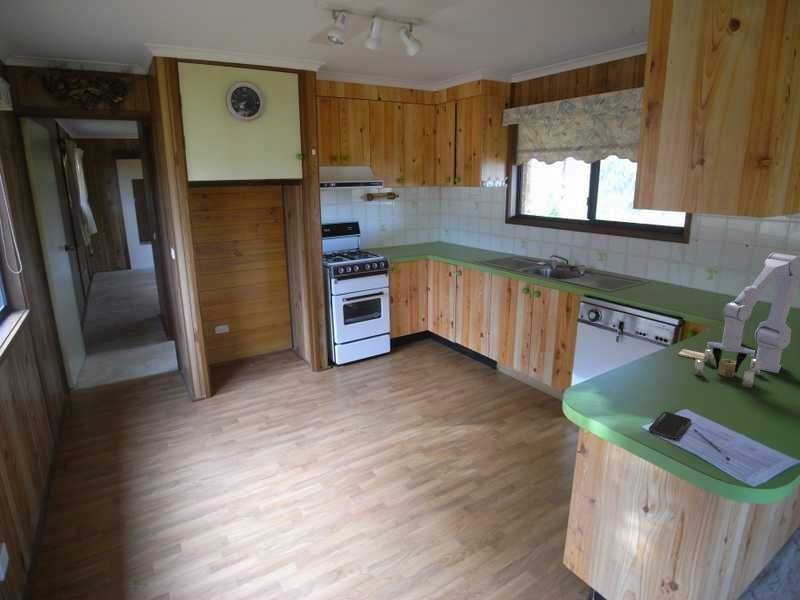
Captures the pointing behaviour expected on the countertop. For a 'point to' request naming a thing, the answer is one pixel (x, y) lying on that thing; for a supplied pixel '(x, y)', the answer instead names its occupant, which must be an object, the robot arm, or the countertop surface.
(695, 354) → the oak pad
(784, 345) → the robot arm
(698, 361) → the steel spacers
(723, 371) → the brass nut
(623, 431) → the countertop surface
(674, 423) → the phone
